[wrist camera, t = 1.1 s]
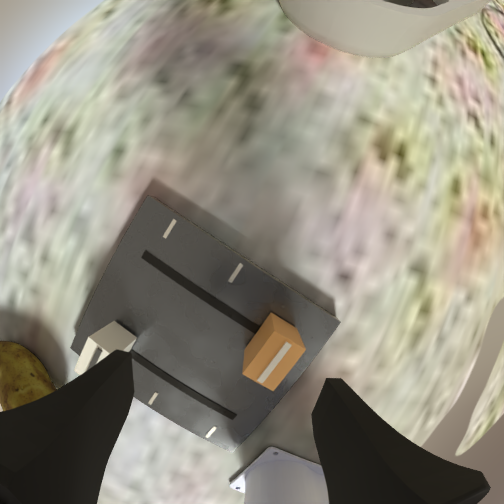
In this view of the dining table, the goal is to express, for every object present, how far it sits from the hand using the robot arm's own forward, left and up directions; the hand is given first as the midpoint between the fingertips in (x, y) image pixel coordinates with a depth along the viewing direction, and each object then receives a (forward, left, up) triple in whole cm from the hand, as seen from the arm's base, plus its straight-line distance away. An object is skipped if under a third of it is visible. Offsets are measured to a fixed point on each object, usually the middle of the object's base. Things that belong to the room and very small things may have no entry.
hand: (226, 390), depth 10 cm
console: (+2, +5, -14) cm, 15 cm away
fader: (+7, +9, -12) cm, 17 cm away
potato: (+14, +21, -14) cm, 29 cm away
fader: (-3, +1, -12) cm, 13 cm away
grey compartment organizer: (+6, -37, -15) cm, 40 cm away
